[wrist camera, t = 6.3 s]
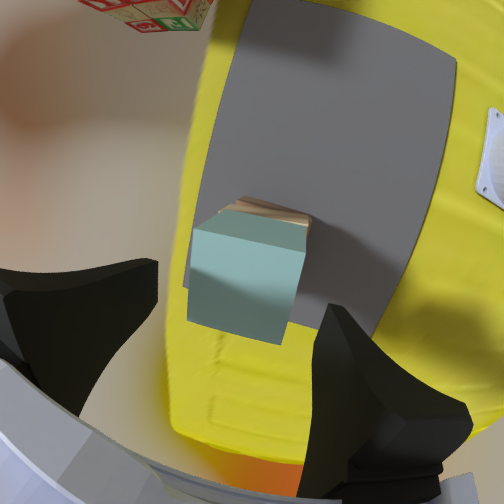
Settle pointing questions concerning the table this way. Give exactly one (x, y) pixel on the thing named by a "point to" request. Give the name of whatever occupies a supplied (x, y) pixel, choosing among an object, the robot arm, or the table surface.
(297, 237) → the teal cube
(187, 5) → the stack of blocks
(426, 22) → the table surface
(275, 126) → the rubber mat
